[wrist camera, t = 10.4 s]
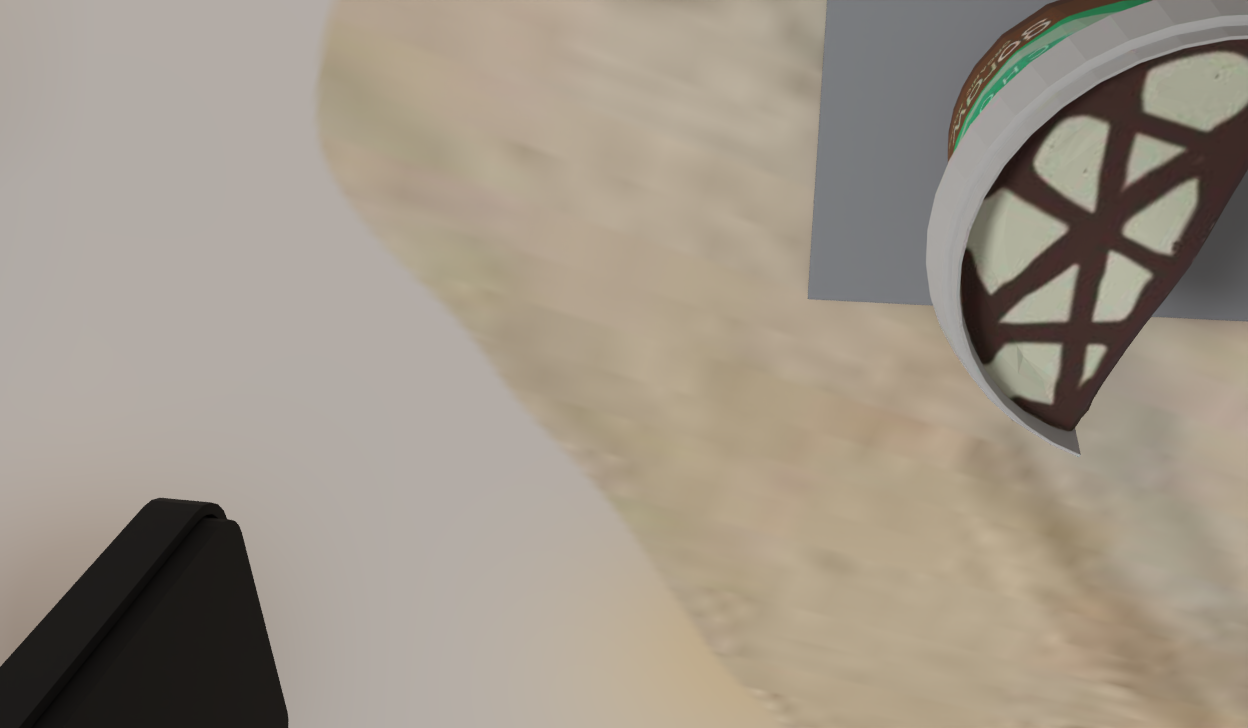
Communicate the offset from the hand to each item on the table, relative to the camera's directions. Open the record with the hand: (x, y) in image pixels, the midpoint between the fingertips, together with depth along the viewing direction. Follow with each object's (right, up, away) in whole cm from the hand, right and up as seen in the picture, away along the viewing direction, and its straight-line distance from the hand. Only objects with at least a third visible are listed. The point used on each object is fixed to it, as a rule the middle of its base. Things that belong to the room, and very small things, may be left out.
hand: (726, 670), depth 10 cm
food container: (+12, +11, +24) cm, 29 cm away
